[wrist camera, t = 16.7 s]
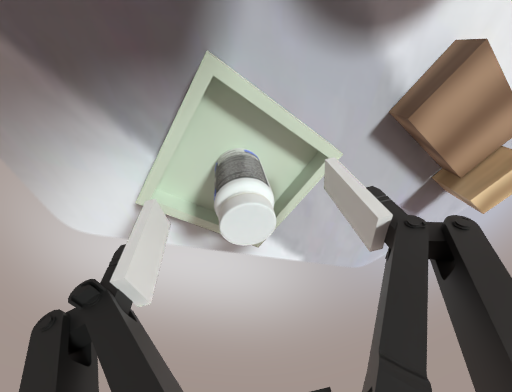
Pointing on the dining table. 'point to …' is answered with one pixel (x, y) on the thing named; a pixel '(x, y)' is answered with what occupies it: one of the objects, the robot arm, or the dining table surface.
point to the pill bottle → (243, 198)
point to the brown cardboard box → (459, 107)
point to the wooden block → (481, 181)
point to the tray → (232, 147)
